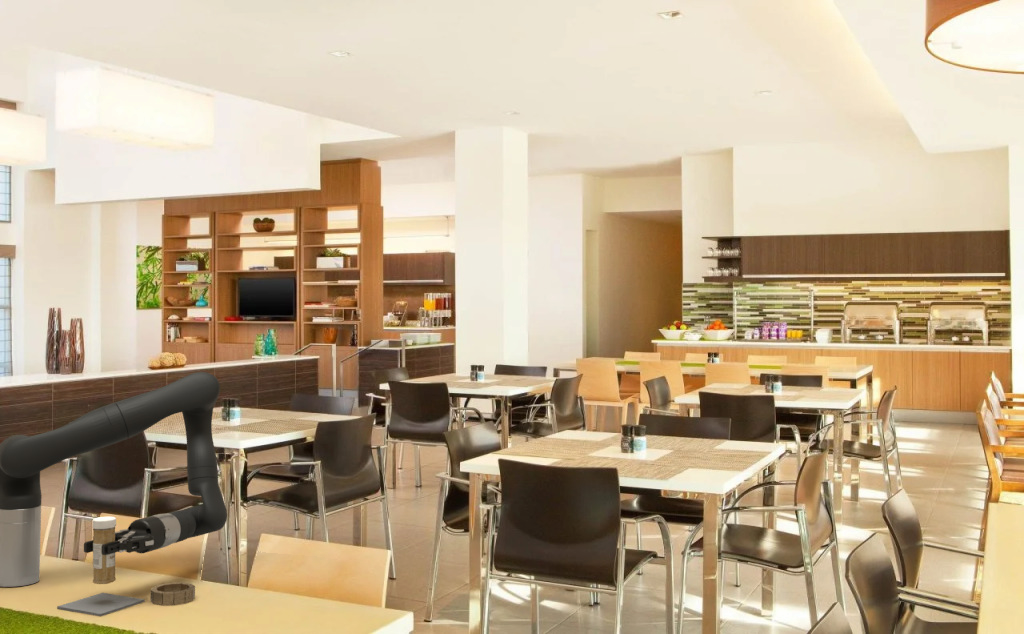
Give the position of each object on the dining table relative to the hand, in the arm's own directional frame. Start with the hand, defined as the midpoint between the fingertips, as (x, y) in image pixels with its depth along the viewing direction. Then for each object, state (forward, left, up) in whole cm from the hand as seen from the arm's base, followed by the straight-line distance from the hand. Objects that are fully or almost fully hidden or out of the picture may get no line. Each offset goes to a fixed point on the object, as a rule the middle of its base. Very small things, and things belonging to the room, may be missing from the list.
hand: (94, 548), depth 201 cm
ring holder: (+10, +13, -12) cm, 20 cm away
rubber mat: (0, +3, -12) cm, 12 cm away
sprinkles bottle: (0, +3, -8) cm, 8 cm away
